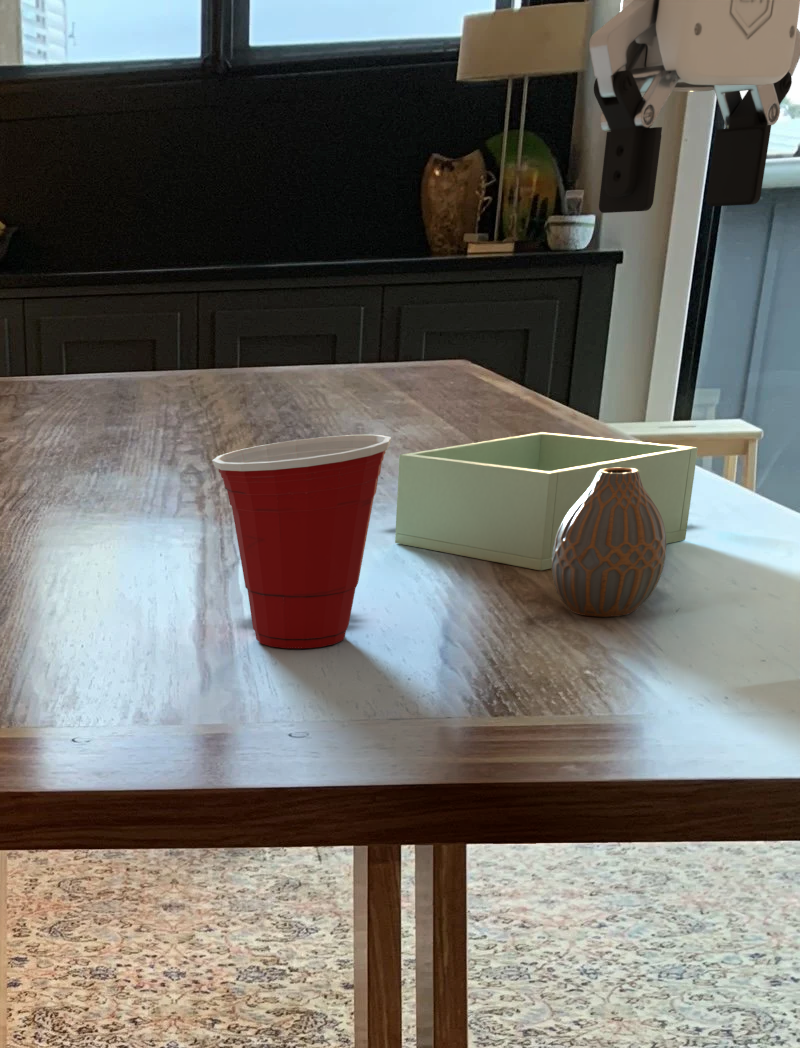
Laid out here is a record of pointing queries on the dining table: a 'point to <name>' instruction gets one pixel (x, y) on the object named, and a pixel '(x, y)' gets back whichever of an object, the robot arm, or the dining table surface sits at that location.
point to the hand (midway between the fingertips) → (679, 208)
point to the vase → (609, 547)
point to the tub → (526, 492)
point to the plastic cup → (302, 531)
